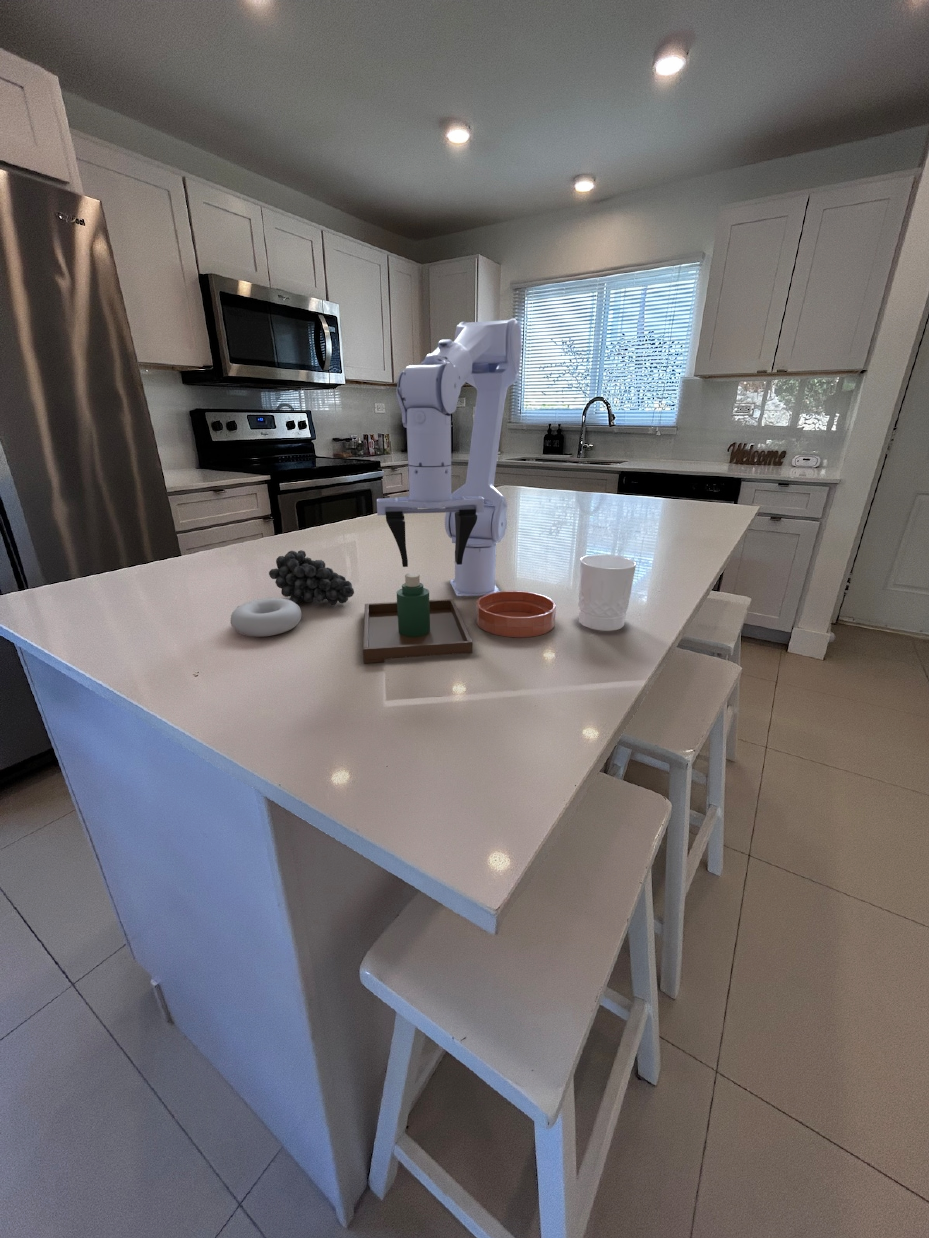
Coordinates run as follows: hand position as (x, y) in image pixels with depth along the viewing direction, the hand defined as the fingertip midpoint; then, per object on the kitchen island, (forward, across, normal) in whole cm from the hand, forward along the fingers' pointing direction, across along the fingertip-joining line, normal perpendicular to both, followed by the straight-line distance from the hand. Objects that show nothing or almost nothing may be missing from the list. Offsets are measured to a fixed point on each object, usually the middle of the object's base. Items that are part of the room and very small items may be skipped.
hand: (432, 563), depth 73 cm
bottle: (+10, -3, -2) cm, 10 cm away
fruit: (+10, -19, +14) cm, 26 cm away
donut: (+10, -24, +4) cm, 27 cm away
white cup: (+10, +26, -3) cm, 28 cm away
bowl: (+10, +12, -1) cm, 16 cm away
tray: (+10, -3, -2) cm, 11 cm away
